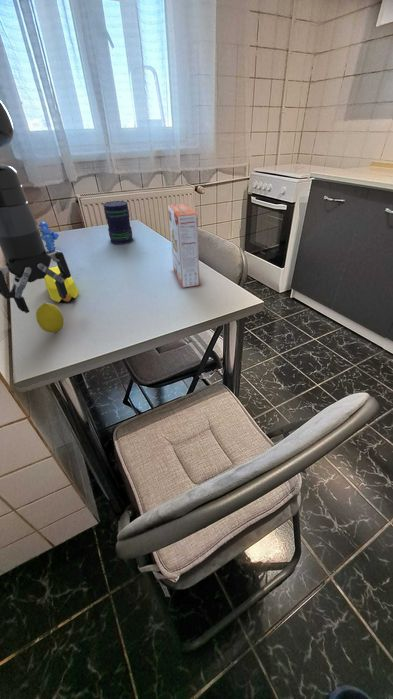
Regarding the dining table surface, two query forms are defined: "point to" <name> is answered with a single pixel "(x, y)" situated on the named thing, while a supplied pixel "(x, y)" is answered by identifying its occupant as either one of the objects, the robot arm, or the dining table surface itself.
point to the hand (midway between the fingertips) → (45, 304)
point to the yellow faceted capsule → (52, 288)
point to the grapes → (48, 236)
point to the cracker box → (184, 244)
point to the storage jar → (118, 222)
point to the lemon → (49, 318)
